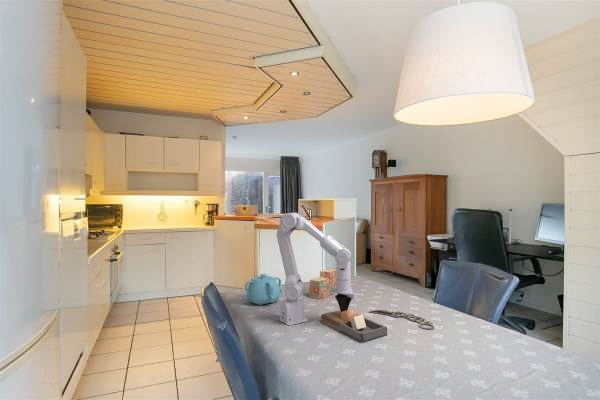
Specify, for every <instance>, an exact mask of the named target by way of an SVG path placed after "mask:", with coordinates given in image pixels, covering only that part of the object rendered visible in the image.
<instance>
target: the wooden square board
mask: <svg viewBox="0 0 600 400" xmlns="http://www.w3.org/2000/svg"><path fill="white" fill-rule="evenodd" d="M357 316H360V314H357ZM320 317H321V318H320V319H321V322H322V323H323V324H325V325H326V326H329V327H330V328H332V329H334V330H335V331H338V332H340V323H343V324H345V325H347V326H349V327H352V325H351V321H350V322H348V321H346V320H343V319H341V311H340V309H339V310H335V311H330V312H326V313H321V315H320Z"/></svg>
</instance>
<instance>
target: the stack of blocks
mask: <svg viewBox="0 0 600 400" xmlns="http://www.w3.org/2000/svg"><path fill="white" fill-rule="evenodd" d="M332 286H336V268H335V267H331V268H326V269H323V270H320V271H319V276H318V277H315V278H312V279H309V298H310V299H315V300H322V299H325V298H327V297H330V296H333V295H336V294H337V293H336V292H331V287H332Z"/></svg>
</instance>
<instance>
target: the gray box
mask: <svg viewBox="0 0 600 400" xmlns="http://www.w3.org/2000/svg"><path fill="white" fill-rule="evenodd" d="M364 321H365V324H366V327H364V328H360V329H357V330H355V329H353V328H352V327H349V326H347V325H345V324H343V323H340V331H339V332H340V333H342V334H344V335H345V336H347V337H349V338H352V339H353V340H355V341H357V342H360V343H361V344H363V343H366V342H370V341H373V340H376V339H379V338H380V339H381V338H384V337H387V336H388V327H387V326H385V325H383V324H381V323H378V322H376V321H374V320H371V319H369V318H367V317H364Z"/></svg>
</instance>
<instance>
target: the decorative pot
mask: <svg viewBox="0 0 600 400" xmlns="http://www.w3.org/2000/svg"><path fill="white" fill-rule="evenodd" d="M277 280H278V281H277ZM281 285H282V280H281V278H280V277H279V276H278V277H277V276H275V277H273V276H271V275H270V276H269V275H268V274H266V273H260V275H259V276H255V277H252V278H251V280H247V282H246V283H245V284H244V288H245V289H244V290H245V291H246V293H245V294H244V296H243V297H244V299H245V300H249V302H250V303H253V304H255V305H256V304H257V306H263V305H264V304H275V303H276V302H277V301H278V300H279V299H280V297H281V294H282V293H283V290H282V288H281Z"/></svg>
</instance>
